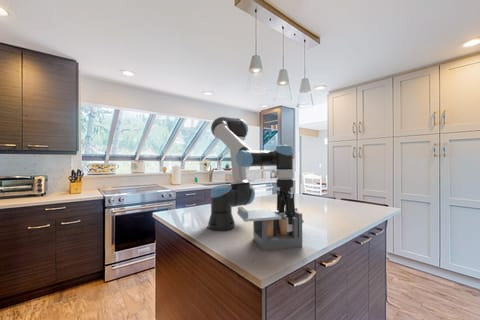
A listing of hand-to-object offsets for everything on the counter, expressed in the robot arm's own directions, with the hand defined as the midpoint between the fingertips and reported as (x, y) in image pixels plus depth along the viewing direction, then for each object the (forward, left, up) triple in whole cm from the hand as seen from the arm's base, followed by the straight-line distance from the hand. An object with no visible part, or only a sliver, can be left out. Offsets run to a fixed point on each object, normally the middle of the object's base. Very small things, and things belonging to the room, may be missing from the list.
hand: (285, 228), depth 100 cm
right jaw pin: (-1, 0, -6) cm, 6 cm away
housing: (-1, -4, -6) cm, 8 cm away
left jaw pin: (-1, -8, -6) cm, 10 cm away
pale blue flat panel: (-1, -13, +6) cm, 14 cm away
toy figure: (-15, +12, -7) cm, 20 cm away
